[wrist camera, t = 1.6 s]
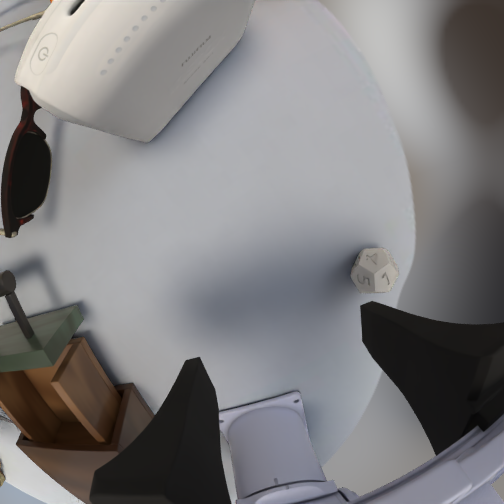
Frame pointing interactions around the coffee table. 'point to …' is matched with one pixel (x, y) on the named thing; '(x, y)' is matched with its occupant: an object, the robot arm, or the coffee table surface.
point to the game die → (374, 271)
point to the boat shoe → (1, 477)
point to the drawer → (53, 377)
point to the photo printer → (127, 59)
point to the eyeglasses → (24, 165)
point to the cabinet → (90, 447)
